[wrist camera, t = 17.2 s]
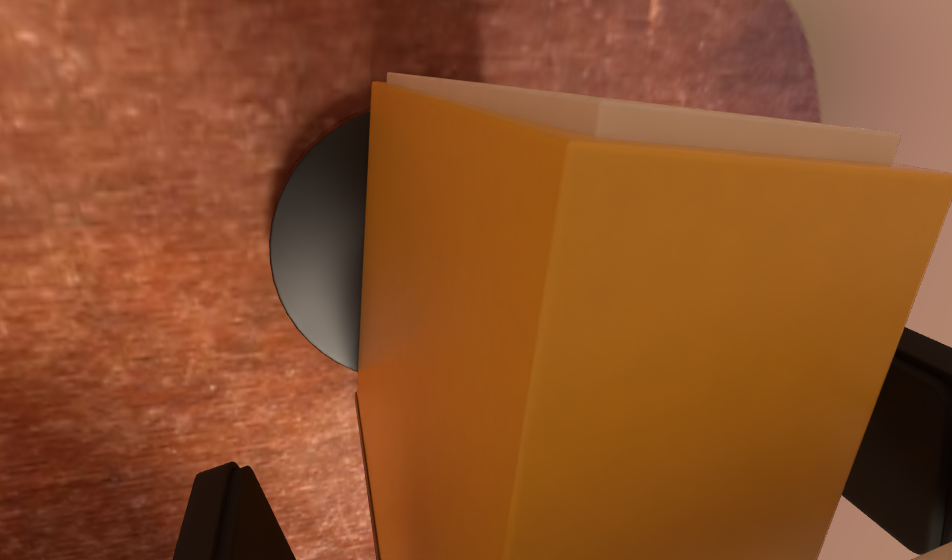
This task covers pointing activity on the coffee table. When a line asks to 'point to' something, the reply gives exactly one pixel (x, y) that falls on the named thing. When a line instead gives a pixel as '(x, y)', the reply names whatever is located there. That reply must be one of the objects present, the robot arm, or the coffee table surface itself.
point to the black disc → (324, 239)
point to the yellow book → (623, 322)
